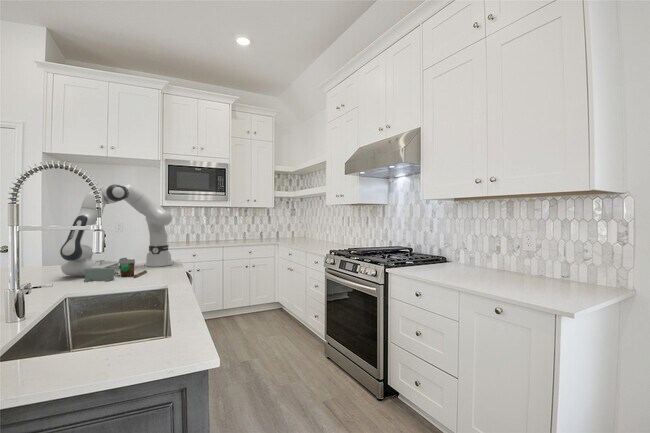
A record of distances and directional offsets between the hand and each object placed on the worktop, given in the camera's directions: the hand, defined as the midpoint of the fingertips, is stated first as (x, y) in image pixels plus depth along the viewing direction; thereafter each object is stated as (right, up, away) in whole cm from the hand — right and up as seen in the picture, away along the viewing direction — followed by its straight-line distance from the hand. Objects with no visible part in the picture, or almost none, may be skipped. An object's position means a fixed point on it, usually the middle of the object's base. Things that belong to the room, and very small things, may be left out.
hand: (120, 267), depth 188 cm
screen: (-2, -5, -15) cm, 16 cm away
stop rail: (+11, -5, +2) cm, 12 cm away
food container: (+3, -5, 0) cm, 6 cm away
